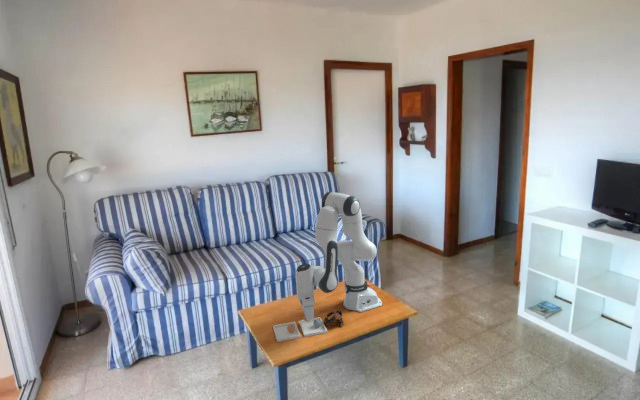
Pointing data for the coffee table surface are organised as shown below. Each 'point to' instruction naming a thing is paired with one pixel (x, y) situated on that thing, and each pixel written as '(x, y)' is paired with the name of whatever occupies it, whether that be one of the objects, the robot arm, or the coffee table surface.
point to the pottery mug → (334, 317)
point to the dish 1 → (285, 332)
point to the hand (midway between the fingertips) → (307, 318)
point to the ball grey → (317, 323)
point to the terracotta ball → (291, 328)
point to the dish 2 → (312, 327)
